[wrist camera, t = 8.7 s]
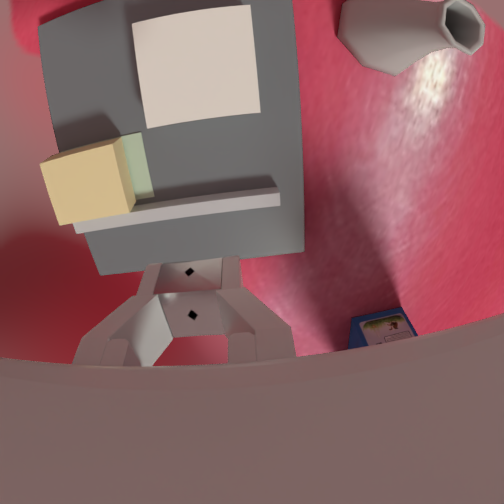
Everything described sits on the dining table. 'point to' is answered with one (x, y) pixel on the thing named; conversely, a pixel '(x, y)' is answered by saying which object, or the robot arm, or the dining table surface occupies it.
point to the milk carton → (380, 328)
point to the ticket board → (185, 124)
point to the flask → (407, 30)
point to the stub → (89, 182)
